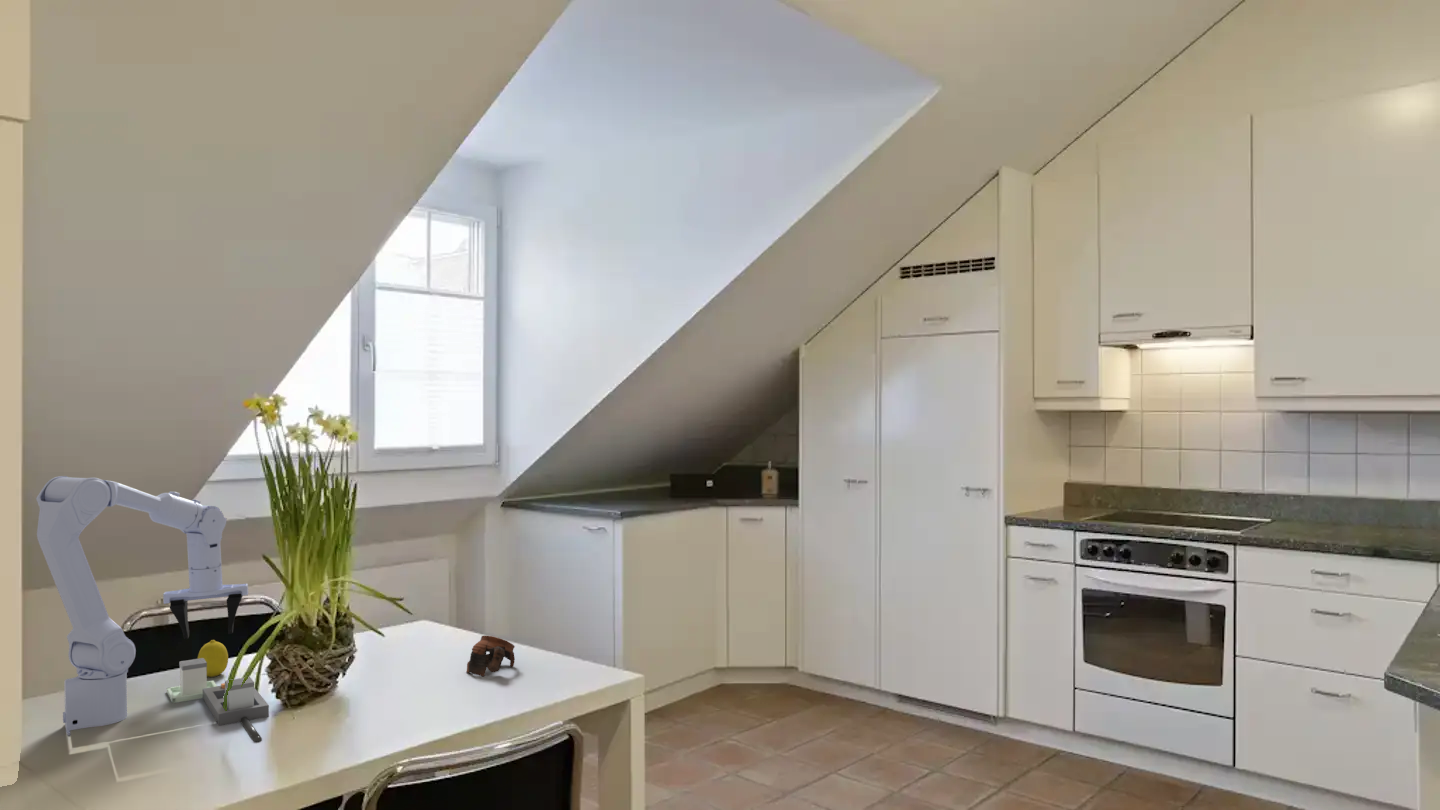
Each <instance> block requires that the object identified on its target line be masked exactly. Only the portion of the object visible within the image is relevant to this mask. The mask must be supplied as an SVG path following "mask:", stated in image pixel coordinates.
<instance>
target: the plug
mask: <svg viewBox="0 0 1440 810" xmlns="http://www.w3.org/2000/svg"><path fill="white" fill-rule="evenodd" d="M178 665H179V686H180V693H181V695H182V696H186V695H192V694H198V693H203V689H204V688H207V681H208V678H207V677H208V676H207V668H206V667H207V662H206V661H205V660H204V658H200V659H198V658H193V659H188V660H181V661H179V663H178Z"/></svg>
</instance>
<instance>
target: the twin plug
mask: <svg viewBox="0 0 1440 810" xmlns="http://www.w3.org/2000/svg"><path fill="white" fill-rule="evenodd" d="M248 677H249V678H248V679H247V680H246V681H245V683H244V684H243V686H242V687H241V685H242V682H243V680H244V678H245V677H239V678H235V679H234V681H233V686H232V688H231V689H230V690H229V691H228V695H227V710H233V709H238V708H244V707H249V706H254V688H255V681H254V680H253V679H252V677H251V676H248ZM229 680H230V679H227V680H224V683H225V693H226V690H227V688H228V683H229Z"/></svg>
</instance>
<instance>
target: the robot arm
mask: <svg viewBox="0 0 1440 810" xmlns="http://www.w3.org/2000/svg"><path fill="white" fill-rule="evenodd" d="M43 485H44V486H43V487H42V488H41V490H40V491H39V493H38V494H37V496H36V498H35V500H36V502H37V505H38V508H39V513H38V519H37V520H38V521H37V530H36V538H37V542H38V544H39V547H40V549H41V552H42V554H43V556H44V559H45V562H46V564H47V567H48V569H49V571H50V572H49V573H50V574H51V576H52V579H53V581H54V585H55V586H56V590H57V592H58V594H59V596H60V599H61V601H62V604H63V606H64V609H65V611H66V613H67V617H68V619H69V622H70V625H71V627H72V629H71V630H70V632H69V633H68V634H67V635H66V639H67V642H68V660H69V662H70V663H71V665H72V666H73V667H74V668H76V675H77V676H75V677H72V678H71V677H70V678H66V679H64V686H63V687H64V711H63V712H62V722H63V724H64V727H65V733H66V736H71V731H74V730H79V729H85V728H93V727H103V726H107V725H112V724H116V723H118V722H121V721H123V720H126V718H127V717H128V690H127V689H128V685H127V683H128V679H127V677H128V675H127V673H129V668H130V667H131V666H132V664H133V663H134V661H135V658H136V652H137V650H136V645H135V643H134V642H133V640H131V639H129V637H127V636H126V634H125V632H124V631H123V628H122V627H121V626H120V625H119V624H118V623H116V622H115V621H114V620H113V619H112V618H111V617H110V616H109V613H108V611H107V608H106V606H105V603H104V601H103V598H102V595H101V592H100V590H99V587H98V584H97V582H96V579H95V577H94V575H93V572H92V569H91V566H90V564H89V561H88V558H87V557H86V554H85V551H84V549H83V546H82V543H81V541H80V535H81V534H82V532H83V531H84V529H85V528H86V527H87V526H89V525H90V523H92V522H93V521H94V520H95V519H96V518H97V517H98V516H99V515H100V514H101V513H102V512H103V511H104V510H105V509H106V508H107V507H109V508H111V507H114V506H116V505H117V506H120V507H124V508H127V509H132V510H136V511H140V512H143V513H147V514H148V516H149V519H150V520H151V521H152V522H154V523H156V524H160V525H163V526H167V527H170V528H174V529H176V530H177V529H178V530H180V531H181V532H182V533H183V534H186V547H187V551H186V552H187V562H188V563H187V564H188V565H187V568H188V584H189V588H182V589H176V590H170V591H164V593H163V594H162V595H163V596H162V598H163V604H164V605H165V604H169V610H170V612H171V613H172V614H173V616H174V617H175V619H176V620H177V623H178V625H179V627H180V630H181V632H182V637H183V639H184V640H188V639H189V637H190V628H189V625H190V624H189V620H188V619H189V618H188V617H189V616H188V608H189V607H188V601H197V600H207V599H214V598H215V599H217V598H227V599H226V607H227V609H226V610H227V634H228V635H232V634H233V633H234V624H235V620H236V619H235V618H236V615H237V612H238V608H239V606H240V604H241V601H242V598H243V596H248V595H249V584H248V583H237V584H235V583H234V584H224V583H223V570H222V568H223V567H222V550H221V541H222V540H223V532H224V530H225V528H226V525H227V519H228V518H227V517H225V515H224V513H223V512H222V510H221V509H220V508H219V507H218V506H216V505H207V504H206V505H203V504H202V503H201V500H198V499H194V498H193V499H192V500H191V499H188V498H185V497H181V496H180V495H181V493H180V492H177V491H171V490H170V491H169V492H161V493H160V494H158V495H153V494H150V493H147V492H144V491H142V490H139V489H136V488H134V487H131V486H128V485H125V484H122V483H121V482H120V483H119V482H117V481H113V480H107V479H106V480H105V479H101V478H98V477H70V476H67V475H59V476H55V477H53V478H51V479H49V480H48V481H47V482H46V483H45V484H43ZM74 721H75V722H76V721H77V722H76V723H73V722H74Z"/></svg>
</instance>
